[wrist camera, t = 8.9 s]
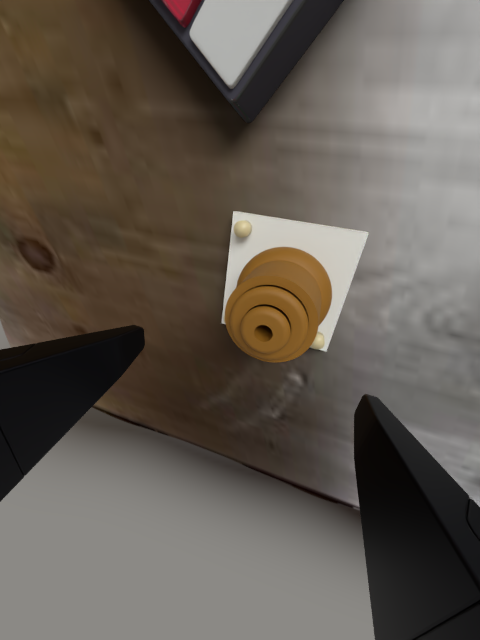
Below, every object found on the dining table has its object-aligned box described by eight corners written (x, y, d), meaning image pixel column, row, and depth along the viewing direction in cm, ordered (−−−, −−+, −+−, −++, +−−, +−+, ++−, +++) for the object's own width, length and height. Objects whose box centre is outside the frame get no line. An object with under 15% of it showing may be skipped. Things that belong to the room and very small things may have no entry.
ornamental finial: (225, 288, 21) (286, 223, 18) (282, 346, 22) (352, 294, 18) (178, 324, 14) (263, 229, 11) (263, 407, 15) (371, 344, 11)
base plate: (366, 231, 17) (371, 234, 15) (326, 345, 22) (326, 357, 20) (237, 211, 19) (229, 211, 18) (225, 319, 24) (217, 327, 22)
